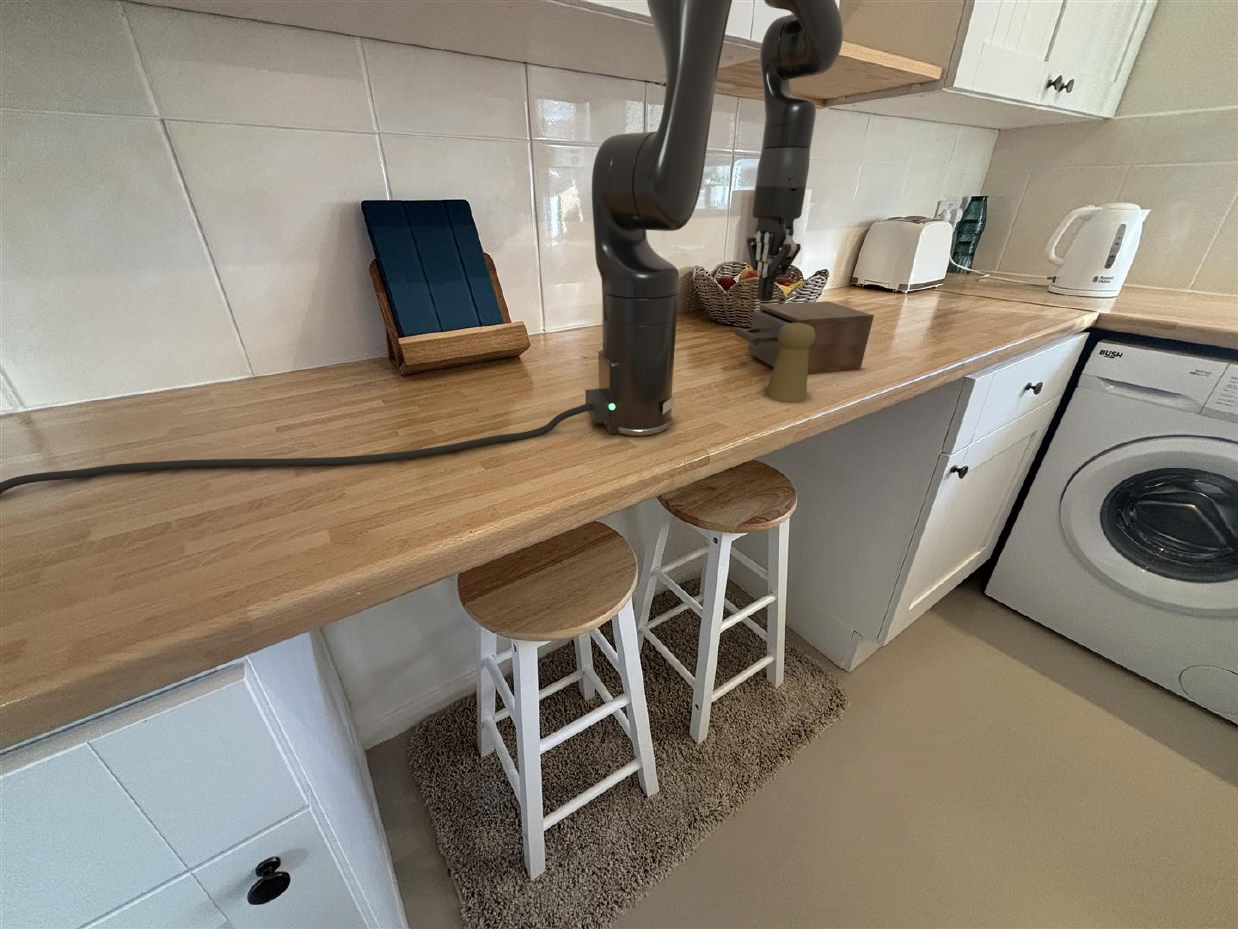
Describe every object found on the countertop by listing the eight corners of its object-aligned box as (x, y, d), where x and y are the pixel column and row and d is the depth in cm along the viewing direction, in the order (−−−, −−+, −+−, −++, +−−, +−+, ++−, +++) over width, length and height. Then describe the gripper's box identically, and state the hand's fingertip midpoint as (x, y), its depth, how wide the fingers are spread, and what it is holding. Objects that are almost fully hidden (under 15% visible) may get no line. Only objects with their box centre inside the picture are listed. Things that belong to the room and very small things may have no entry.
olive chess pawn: (801, 388, 80) (814, 319, 75) (810, 402, 75) (825, 329, 69) (763, 387, 80) (774, 318, 75) (769, 400, 75) (781, 328, 70)
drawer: (755, 373, 84) (762, 326, 80) (725, 354, 93) (730, 312, 90) (846, 364, 88) (856, 320, 84) (808, 347, 98) (816, 307, 94)
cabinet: (789, 376, 85) (800, 319, 81) (753, 355, 96) (760, 304, 91) (860, 369, 89) (874, 315, 84) (817, 350, 99) (827, 301, 95)
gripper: (738, 183, 80) (726, 294, 89) (783, 183, 69) (764, 309, 78) (778, 184, 82) (763, 292, 91) (828, 183, 71) (806, 306, 80)
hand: (764, 300), depth 84 cm, fingers closed
